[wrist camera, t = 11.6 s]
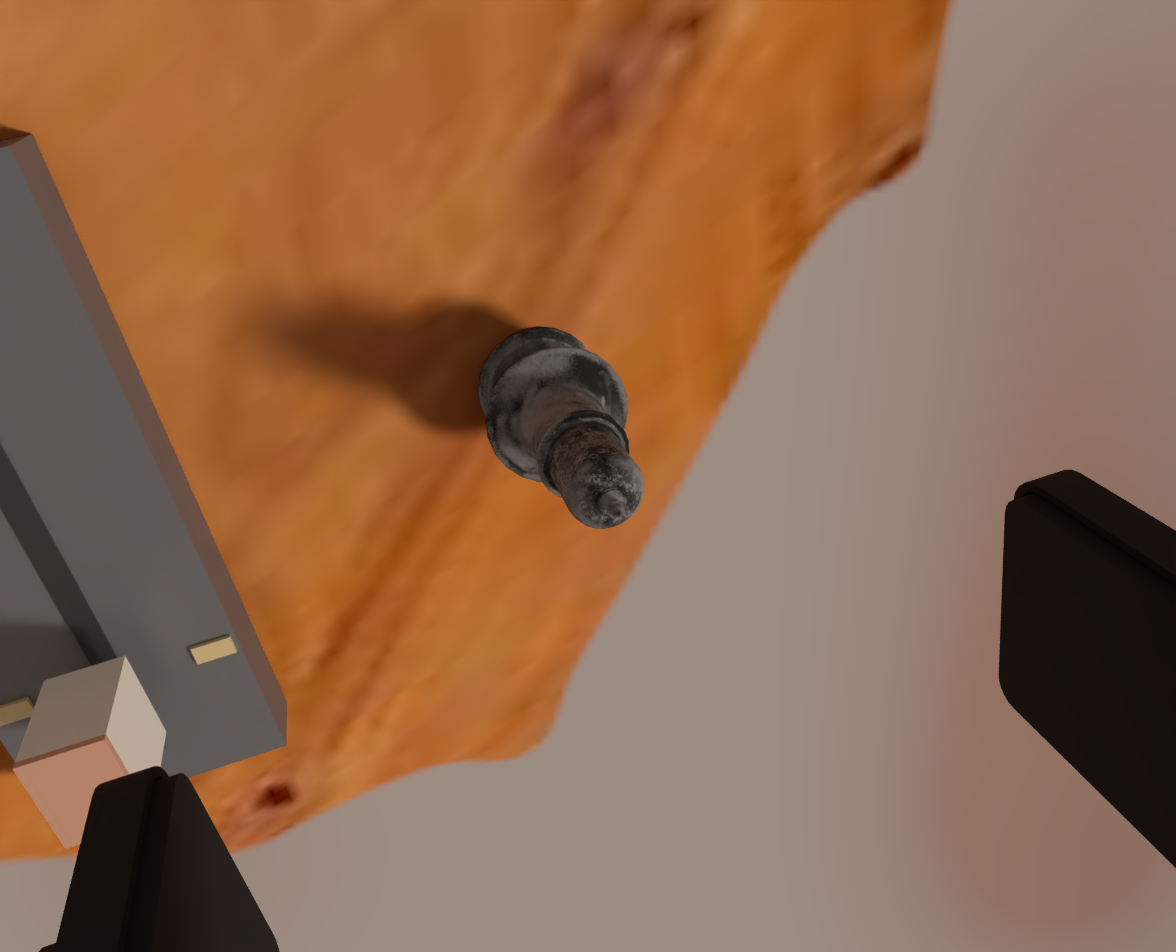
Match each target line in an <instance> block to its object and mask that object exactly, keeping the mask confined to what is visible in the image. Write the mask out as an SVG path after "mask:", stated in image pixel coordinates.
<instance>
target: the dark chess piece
mask: <svg viewBox="0 0 1176 952" xmlns="http://www.w3.org/2000/svg"><path fill="white" fill-rule="evenodd" d="M478 392H479V399H480V405H481V407H482V409H483V411H484V414H485V416H486V419H485V421H486V429H487V436H488V439H489V442H490V444H491V446H492V448H493V450H494V452H495V455H496V456H497V457H498V458H499V459H500V460H501V461H502V463H503V464H504V465H505V466H506V467H507V468H508V469H510V470H512V471H513V472H515V473H516V474H518V475H520V476H521V477H524V478H527V479H531V480H534V481H537V482H542V483H543V484H544V485H545V486H546V487H547V489H548V490H549V491H551V492H552V493H554V494H555V495H557V496H558V497H561V498H563V500H564V502H565V503H566V505H567V507H568V509H569V511H570V512H571V513H572V515H573V516H574V517H575V518H576V519H577V520H578V521H580V522H581V523H583V524H585V525H586V526H589V527H592V528H598V529H606V528H610V527H615V526H617V525H619V524H621V523H623V522H624V521H626V520H627V519H628V518H630V517H631V516H632V515H633V513H634V512H635V511H636V510H637V509H638V507H639V505H640V503H641V501H642V497H643V493H644V482H643V477H642V474H641V471H640V469H639V467H638V466H637V464H636V463H635V462H634V460H633V459H632V458H631V456H630V455H629V441H628V438H627V436H626V433H625V431H624V429H625V424H626V419H627V414H628V409H627V395H626V392H625V389H624V387H623V384H622V381H621V379H620V377H619V376H618V375H617V373H616V372H615V371H614V369H613V368H612V367H611V365H610V364H608V363H607V362H606V361H604V360H603V359H602V358H600V357H599V356H598V355H596V354H594V353H591V352H589V351H588V350H587V349H586V348H585V346H584V345H583V344H582V343H581V342H580V341H579V340H577V339H576V338H575V337H573V336H572V335H571V334H569V333H566V332H563V331H561V330H558V329H555V328H544V327H538V328H532V329H526V330H522V331H520V332H518V333H516V334H513V335H511V336H509V337H508V338H506V339H505V340H504V341H503V342H501V343H500V344H499V345H497V346H496V347H495V349H494V350H493V351H492V353H491V354H490V355H489V356H488V358H487V359H486V361H485V364H484V366H483V368H482V371H481V373H480V378H479V386H478Z"/></svg>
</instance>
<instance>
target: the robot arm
mask: <svg viewBox="0 0 1176 952" xmlns="http://www.w3.org/2000/svg"><path fill="white" fill-rule="evenodd" d="M999 656H1000V657H999V681H1000V685H1001V689H1002V691H1003V693H1004V695H1005V697H1006V699H1007V700H1008V702H1009V703H1010V704H1011V706H1012V707H1013V708H1014V709H1015V710H1016V711H1017V712H1018V713H1019V714H1020V715H1021V716H1022V717H1023V718H1024V719H1025V720H1026V721H1027V722H1028V723H1029V724H1030V725H1031V726H1032V727H1033V728H1034V729H1035V730H1036V731H1037V732H1038V733H1039V734H1040V735H1041V736H1042V737H1044V738H1045V740H1047V741H1048V742H1049V743H1050V744H1051V745H1052V746H1053V747H1054V748H1055V749H1056V750H1057V751H1058V752H1059V753H1060V754H1061V755H1062V756H1063V757H1064V758H1065V759H1066V760H1067V761H1068V762H1069V763H1070V764H1071V765H1072V766H1073V767H1074V768H1075V769H1076V770H1077V771H1078V772H1079V773H1080V774H1081V775H1082V776H1083V777H1084V778H1085V779H1086V780H1087V781H1088V782H1089V783H1090V784H1091V785H1092V786H1093V787H1094V788H1095V789H1096V790H1097V791H1099V793H1100V794H1101V795H1102V796H1103V797H1104V798H1105V799H1106V800H1107V801H1108V802H1109V803H1111V805H1113V806H1114V807H1115V808H1116V809H1117V810H1118V811H1119V812H1120V813H1121V814H1122V815H1123V816H1124V817H1125V818H1126V819H1127V820H1128V821H1129V822H1130V823H1131V824H1132V825H1133V826H1134V827H1135V828H1136V829H1137V830H1138V831H1139V832H1140V833H1141V834H1142V835H1143V836H1144V837H1145V838H1146V839H1147V840H1148V841H1149V842H1150V843H1151V844H1152V845H1153V846H1154V847H1155V848H1156V849H1157V850H1158V851H1159V852H1160V853H1161V854H1162V855H1163V856H1164V857H1165V858H1166V859H1167V860H1168V861H1170V863H1171V864H1172V865H1173V866H1174V867H1175V868H1176V531H1175V530H1174V529H1172V528H1170V527H1169V526H1167V525H1165V524H1164V523H1162V522H1160V521H1159V520H1157V519H1155V518H1154V517H1152V516H1150V515H1149V514H1147V513H1145V512H1144V511H1142V510H1141V509H1139V508H1137V507H1136V506H1134V505H1132V504H1131V503H1129V502H1127V501H1126V500H1124V499H1122V498H1121V497H1119V496H1117V495H1116V494H1114V493H1112V492H1111V491H1109V490H1108V489H1106V488H1104V487H1103V486H1101V485H1099V484H1097V483H1096V482H1094V481H1093V480H1091V479H1089V478H1087V477H1086V476H1084V475H1083V474H1081V473H1079V472H1076V471H1074V470H1063V471H1060V472H1057V473H1054V474H1050V475H1047V476H1044V477H1041V478H1039V479H1036V480H1032V481H1029V482H1026V483H1024V484H1022V485H1020V486H1019V487H1018V489H1017V491H1016V492H1015V496H1014V500H1012V501H1010V502H1009V503H1008V505H1007V506H1006V510H1005V524H1004V552H1003V577H1002V604H1001V631H1000V655H999ZM39 952H279V948H278V945H277V942H276V939H275V937H274V935H273V933H272V931H271V929H270V927H269V925H268V924H267V922H266V920H265V918H264V916H263V914H262V913H261V911H260V909H259V907H258V905H257V903H256V901H255V900H254V898H253V896H252V894H251V892H250V891H249V889H248V887H247V885H246V883H245V881H244V879H243V877H242V876H241V874H240V872H239V870H238V868H237V867H236V865H235V863H234V861H233V859H232V857H231V855H230V853H229V852H228V850H227V848H226V846H225V844H224V842H223V841H222V839H221V837H220V835H219V833H218V831H217V830H216V828H215V826H214V824H213V822H212V820H211V818H210V817H209V815H208V813H207V811H206V809H205V807H204V806H203V804H202V802H201V800H200V798H199V796H198V794H197V793H196V791H195V789H194V787H193V785H192V783H191V782H190V780H189V779H188V777H187V776H186V775H185V774H184V773H179V774H176V775H172V776H168V774H167V773H166V771H165V770H164V769H163V768H161V767H160V766H153V767H150V768H147V769H144V770H141V771H138V772H135V773H132V774H128V775H125V776H122V777H119V778H116V779H113V780H110V781H107V782H104V783H101V784H99V785H98V786H97V787H96V788H95V790H94V793H93V795H92V798H91V803H90V807H89V811H88V815H87V819H86V823H85V827H84V831H83V835H82V839H81V843H80V847H79V851H78V856H77V860H76V864H75V868H74V873H73V876H72V880H71V884H70V888H69V893H68V896H67V900H66V905H65V909H64V913H63V917H62V921H61V925H60V929H59V933H58V937H57V941H56V943H54V944H51V945H49V946H46V947H43V948H42V949H41V950H40V951H39Z"/></svg>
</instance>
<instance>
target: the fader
mask: <svg viewBox="0 0 1176 952" xmlns="http://www.w3.org/2000/svg"><path fill="white" fill-rule="evenodd" d="M165 737H166V730H165V728H164V726H163V724H162V723H161V721H160V719H159V717H158V715H157V713H156V712H155V710H154V708H153V706H152V704H151V702H150V700H149V699H148V697H147V695H146V693H145V691H144V689H143V687H142V686H141V684H140V682H139V680H138V678H137V676H136V675H135V673H134V671H133V669H132V667H131V665H130V663H129V662H128V660H127V658H126V656H122V657H119V658H116V659H112V660H109V661H106V662H103V663H99V664H96V665H93V666H90V667H86V668H83V669H80V670H77V671H73V672H70V673H67V674H64V675H60V676H57V677H54V678H51V679H47V680H44V682H43V685H42V688H41V690H40V693H39V696H38V699H37V702H36V704H35V707H34V710H33V713H32V716H31V718H30V721H29V724H28V727H27V730H26V732H25V735H24V738H23V741H22V744H21V746H20V749H19V752H18V755H17V758H16V760H15V763H14V766H13V771H14V772H15V774H16V775H17V777H18V778H19V780H20V781H21V783H22V784H23V786H24V787H25V789H26V790H27V792H28V793H29V795H30V796H31V798H32V799H33V801H34V802H35V804H36V805H37V807H38V808H39V810H40V811H41V813H42V814H43V816H44V817H45V819H46V820H47V822H48V823H49V825H50V826H51V828H52V829H53V831H54V832H55V834H56V835H57V837H58V838H59V840H60V841H61V843H62V844H63V846H64V847H65V849H67V848H70V847H73V846H76V845H79V844H80V843H81V839H82V835H83V831H84V827H85V823H86V819H87V815H88V811H89V807H90V803H91V798H92V795H93V793H94V790H95V788H96V787H97V786H98V785H99V784H101V783H104V782H107V781H110V780H113V779H116V778H119V777H122V776H125V775H128V774H132V773H135V772H138V771H141V770H144V769H147V768H150V767H153V766H160V767H161V761H162V755H163V749H164V743H165Z"/></svg>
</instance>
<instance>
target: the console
mask: <svg viewBox="0 0 1176 952" xmlns="http://www.w3.org/2000/svg"><path fill="white" fill-rule="evenodd" d="M122 656H126V658H127V660H128V662H129V663H130V665H131V667H132V669H133V671H134V673H135V675H136V676H137V678H138V680H139V682H140V684H141V686H142V687H143V689H144V691H145V693H146V695H147V697H148V699H149V700H150V702H151V704H152V706H153V708H154V710H155V712H156V713H157V715H158V717H159V719H160V721H161V723H162V724H163V726H164V728H165V730H166V737H165V743H164V749H163V755H162V761H161V768H163V769H164V770H165V771H166V773H167V774H168V776H172V775H176V774H179V773H184V774H185V775H186V776H187V777H191V776H194V775H198V774H201V773H204V772H207V771H210V770H213V769H216V768H219V767H222V766H225V765H228V764H231V763H234V762H237V761H240V760H243V759H246V758H249V757H252V756H255V755H258V754H261V753H264V752H267V751H270V750H273V749H276V748H279V747H283V746H286V733H287V702H286V700H285V698H284V695H283V693H282V691H281V689H280V686H279V684H278V682H277V680H276V677H275V675H274V673H273V671H272V669H271V666H270V664H269V662H268V660H267V657H266V655H265V653H264V651H263V648H262V646H261V644H260V642H259V639H258V637H257V635H256V633H255V631H254V628H253V626H252V624H251V622H250V619H249V617H248V615H247V613H246V610H245V608H244V606H243V604H242V602H241V599H240V597H239V595H238V593H237V590H236V588H235V586H234V584H233V581H232V579H231V577H230V575H229V572H228V570H227V568H226V566H225V564H224V561H223V559H222V557H221V555H220V552H219V550H218V548H217V546H216V543H215V541H214V539H213V537H212V535H211V532H210V530H209V528H208V526H207V523H206V521H205V519H204V517H203V514H202V512H201V510H200V508H199V505H198V503H197V501H196V499H195V497H194V494H193V492H192V490H191V488H190V485H189V483H188V481H187V479H186V476H185V474H184V472H183V470H182V468H181V465H180V463H179V461H178V459H177V456H176V454H175V452H174V450H173V447H172V445H171V443H170V441H169V438H168V436H167V434H166V432H165V430H164V427H163V425H162V423H161V421H160V418H159V416H158V414H157V412H156V409H155V407H154V405H153V403H152V401H151V398H150V396H149V394H148V392H147V389H146V387H145V385H144V383H143V380H142V378H141V376H140V374H139V371H138V369H137V367H136V365H135V363H134V360H133V358H132V356H131V354H130V351H129V349H128V347H127V345H126V342H125V340H124V338H123V336H122V333H121V331H120V329H119V327H118V325H117V322H116V320H115V318H114V316H113V313H112V311H111V309H110V307H109V304H108V302H107V300H106V298H105V296H104V293H103V291H102V289H101V287H100V284H99V282H98V280H97V278H96V275H95V273H94V271H93V269H92V266H91V264H90V262H89V260H88V258H87V255H86V253H85V251H84V249H83V246H82V244H81V242H80V240H79V237H78V235H77V233H76V231H75V229H74V226H73V224H72V222H71V220H70V217H69V215H68V213H67V211H66V208H65V206H64V204H63V202H62V199H61V197H60V195H59V193H58V191H57V188H56V186H55V184H54V182H53V179H52V177H51V175H50V173H49V170H48V168H47V166H46V164H45V162H44V159H43V157H42V155H41V153H40V150H39V148H38V146H37V144H36V141H35V139H34V137H33V135H32V134H29V135H25V136H20V137H16V138H11V139H7V140H2V141H0V741H1V742H2V744H3V745H4V747H5V748H6V750H7V751H8V753H9V754H10V756H11V757H12V759H13V760H14V762H15V760H16V758H17V755H18V752H19V749H20V746H21V744H22V741H23V738H24V735H25V732H26V730H27V727H28V724H29V721H30V718H31V716H32V713H33V710H34V707H35V704H36V702H37V699H38V696H39V693H40V690H41V688H42V685H43V682H44V680H47V679H51V678H54V677H57V676H60V675H64V674H67V673H70V672H73V671H77V670H80V669H83V668H86V667H90V666H93V665H96V664H99V663H103V662H106V661H109V660H112V659H116V658H119V657H122Z"/></svg>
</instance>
